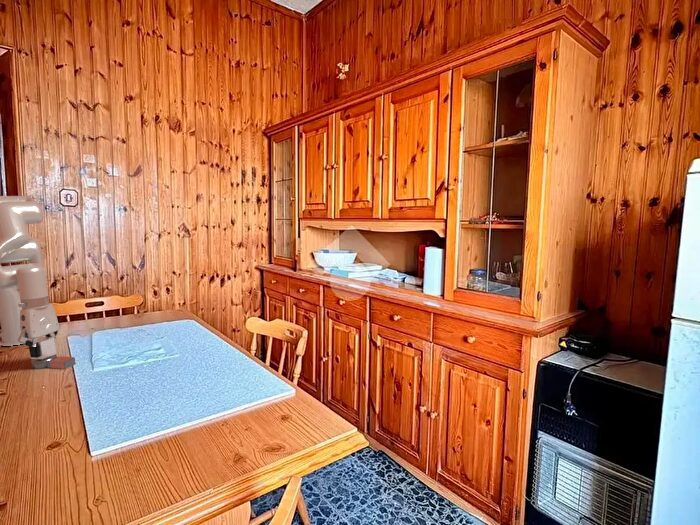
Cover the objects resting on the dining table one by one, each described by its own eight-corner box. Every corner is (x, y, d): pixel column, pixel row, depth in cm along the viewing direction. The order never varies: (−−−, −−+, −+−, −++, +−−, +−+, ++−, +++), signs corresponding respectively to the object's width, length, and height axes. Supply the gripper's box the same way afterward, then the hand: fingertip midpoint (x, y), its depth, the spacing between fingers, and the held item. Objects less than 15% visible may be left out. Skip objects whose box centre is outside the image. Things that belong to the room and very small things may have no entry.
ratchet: (79, 362, 140) (76, 345, 139) (61, 371, 133) (58, 352, 132) (46, 360, 143) (43, 343, 142) (27, 368, 136) (24, 351, 135)
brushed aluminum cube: (31, 358, 136) (28, 341, 135) (44, 353, 141) (42, 336, 140) (43, 359, 135) (40, 342, 134) (56, 353, 140) (54, 337, 139)
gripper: (18, 309, 126) (28, 364, 129) (66, 296, 143) (74, 345, 145) (-1, 309, 128) (9, 363, 131) (49, 296, 144) (57, 344, 147)
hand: (43, 353), depth 138 cm, fingers closed on brushed aluminum cube, 5 cm apart
